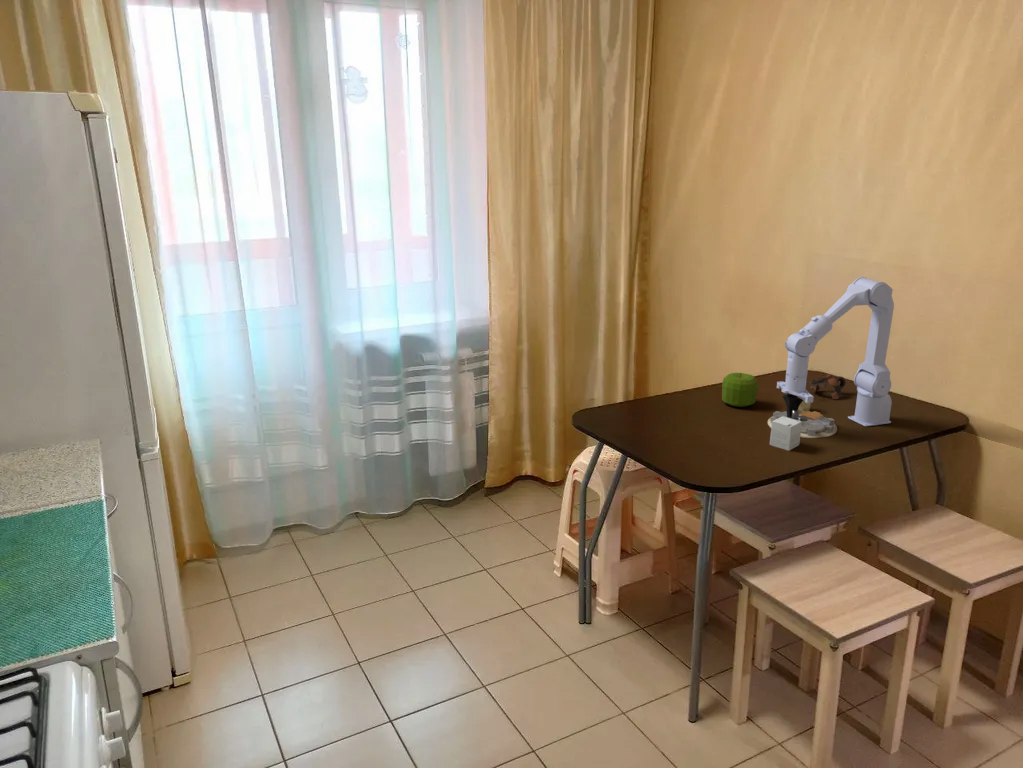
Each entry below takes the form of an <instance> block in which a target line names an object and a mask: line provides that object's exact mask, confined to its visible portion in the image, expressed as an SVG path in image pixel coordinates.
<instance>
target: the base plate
mask: <svg viewBox="0 0 1023 768" xmlns="http://www.w3.org/2000/svg"><path fill="white" fill-rule="evenodd" d="M771 418H775V417H773V415H772V416H771V417H769V418H768V420H767V425H768V427H769V428H770V429H771V427H772V424H771ZM831 426H833V431H832V432H830V433H829V432H825V431H823V432H818V433H815V435H808V434H807V433H802V432H801V434H800V439H801V438H802V439H823V438H829V437H832V436H833V435H835V434H836V433H837V431H838V427H837V424H835V423H834V425H831Z"/></svg>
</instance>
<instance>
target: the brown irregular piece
mask: <svg viewBox="0 0 1023 768" xmlns="http://www.w3.org/2000/svg"><path fill="white" fill-rule="evenodd" d="M827 382H828V384H829V385H830V387H833V388H834V392H833V393H831V394H830V395H831V398H832V400H833V399H836V400H838V399H840V398H842V390H843V389H844V388H845V387H846V382H847V381H846V378H844V377H843V376H837V377H833V376H832V374H829V373H828V374H825V375H823V376H820V377H818V378H817V379H813V380H812V381H810V382H809V384H810V388H809V389H810V390H814V391H815V392H816V391H817V392H818V390H819V391H820V390H821V388H820V387H822V388H827Z"/></svg>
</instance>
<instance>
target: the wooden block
mask: <svg viewBox="0 0 1023 768" xmlns="http://www.w3.org/2000/svg"><path fill="white" fill-rule="evenodd" d="M811 404H812V403H806V402H805V401H804V400H803V401H802V403H801V404H800V406H799V408H798V410H799V411H810V410H811ZM810 412H811V411H810Z"/></svg>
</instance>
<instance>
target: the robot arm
mask: <svg viewBox="0 0 1023 768" xmlns="http://www.w3.org/2000/svg"><path fill="white" fill-rule="evenodd" d="M893 290H894V289H893V288H892V287H891V286H890V285H889V284H888V283H886V282H885V281H879V280H874V279H871V278H867V277H864V276H861V277H857V278H856V279H855V280H853V282H852V283H850V284H849V285H848V286H847V289H846V291H845V293H844V294H843V295H842V296H841V297H839V298H838V300H837V301H836V302H835V303H833V305H832V306H831V307H829V309H828V310H827V311H826V312H825V313H824V314H820V315H819V314H817V315H816V316H812V317H811V319H810V321H809V322H808V323H807V324H806V325H805V326H804V327H803V328H801V329H798V332H795V333H792V334H791V335H790V336H788V338H787V339H786V341H785V342H784V347H785V349H786V350H787V361H786V363H787V364H786V371H785V381H776V389H779V390H781V392H782V393H784V394H783V395H782V398H783V401H784V403H785V405H786V411H787V418H791V416H792V410H793V409H797V410H798V408H799V406H800V404H801V403H802V401H803V400H804V401H805V402H806V403H811V404H813V402H814V399H815V397H814V395H812V394H811V393H810V392H809V391H808V390H807V388H806V386H807V379H808V371H809V362H810V361H809V360H810V355H811V354H813V353H814V352H815V349H816V346H817V345H818V343H819V342H820V341H821V340H822V339H823V338H824V337H825V336H826V335H828V333H830V332H831V331H832V330H833V324H834V323H835V322H836V321H837V320H839V319H840V318H841V317H842V316H844V315H845V314H846V313H848V312H849V311H850V310H851V309H853V308H854V307H855V306H856V307H857V306H868V307H869V308H870V309H871V317H870V325H869V328H868V329H869V330H868V335H867V336H868V337H867V344H866V351H865V356H864V361H863V362H861V363H859V364H858V369H857V372H856V373H855V374H854V377H853V383H854V385H855V386H856V391H857V394H856V395H857V396H856V400H855V401H856V403H855V410H854V415H850V416H849V415H848V416H847V419H849V420H851V421H853V422H855V423H857V424H859V425H861V426H864V427H872V426H879V425H884V424H885V425H886V424H891V423H892V421H891V420H890V416H891V409H892V405H893V402H892V398H891V397H892V396H890V394H889V393H890V391H891V389H892V380H891V370H890V369H889V368H888V367H887V364H886V360H887V354H888V348H889V347H888V346H889V339H890V335H891V328H892V321H893V315H894V309H895V303H894V300H893Z"/></svg>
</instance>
